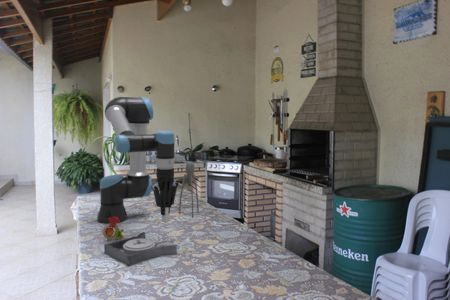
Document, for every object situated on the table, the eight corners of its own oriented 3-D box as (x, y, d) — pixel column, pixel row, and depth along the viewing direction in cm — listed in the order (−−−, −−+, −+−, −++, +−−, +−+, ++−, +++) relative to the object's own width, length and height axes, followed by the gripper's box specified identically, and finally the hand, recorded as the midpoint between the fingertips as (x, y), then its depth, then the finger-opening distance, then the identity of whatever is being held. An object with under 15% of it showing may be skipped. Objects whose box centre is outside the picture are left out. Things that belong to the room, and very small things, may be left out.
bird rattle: (110, 247, 165) (129, 236, 169) (99, 226, 162) (118, 215, 165) (107, 243, 170) (125, 232, 174) (96, 222, 167) (115, 212, 171)
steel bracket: (101, 251, 155) (100, 242, 154) (144, 239, 169) (144, 231, 169) (133, 268, 138) (133, 258, 137) (178, 253, 152) (177, 245, 152)
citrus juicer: (193, 217, 205) (193, 162, 202) (175, 216, 207) (175, 162, 204) (198, 212, 216) (198, 160, 213) (182, 211, 218) (181, 159, 215)
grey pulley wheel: (141, 245, 162) (141, 234, 162) (161, 252, 154) (161, 240, 154) (116, 254, 152) (116, 242, 152) (137, 261, 144) (136, 249, 144)
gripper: (157, 170, 153) (157, 227, 156) (182, 167, 162) (182, 220, 165) (147, 168, 158) (147, 223, 161) (172, 165, 167) (171, 216, 170)
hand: (165, 221), depth 163 cm, fingers closed
